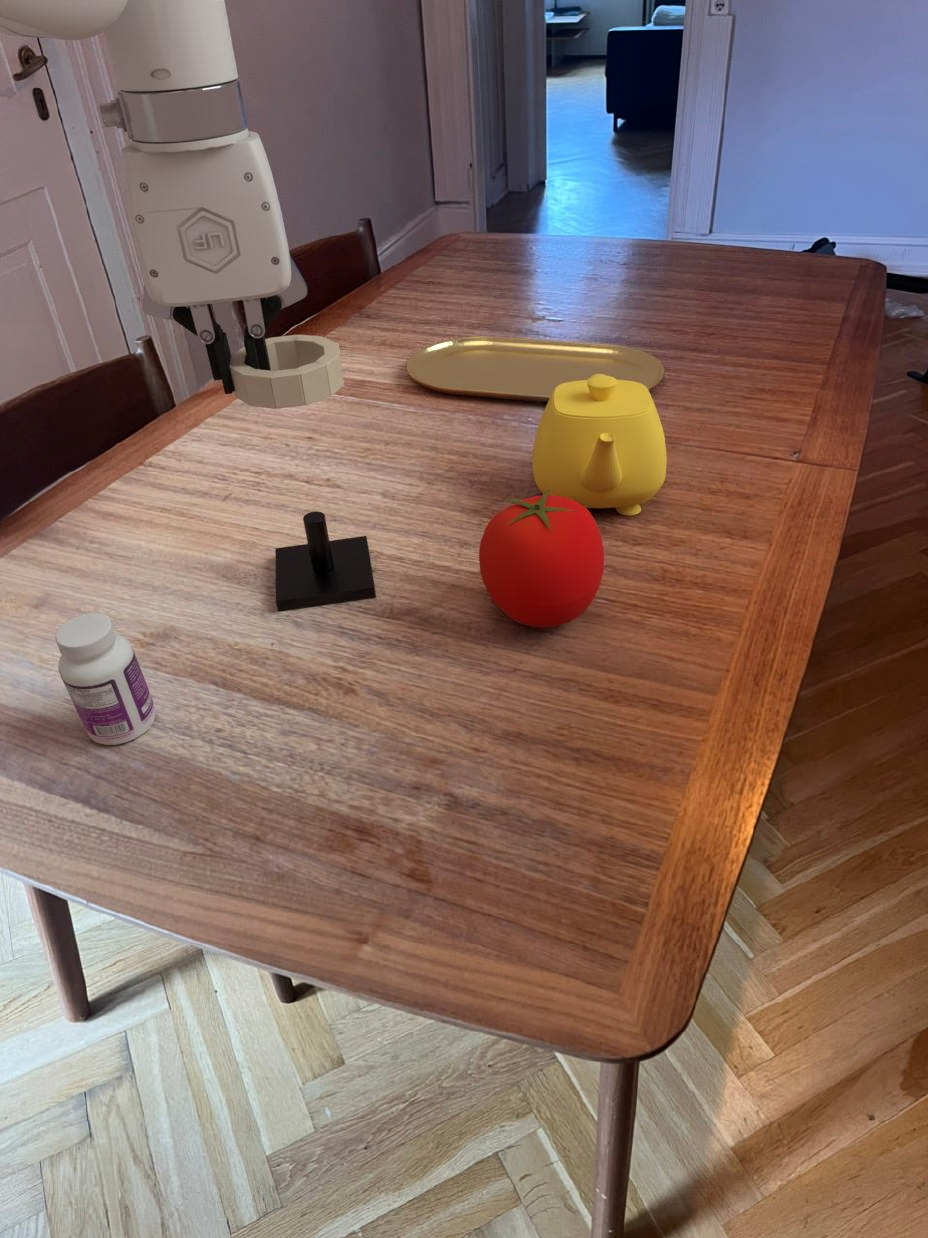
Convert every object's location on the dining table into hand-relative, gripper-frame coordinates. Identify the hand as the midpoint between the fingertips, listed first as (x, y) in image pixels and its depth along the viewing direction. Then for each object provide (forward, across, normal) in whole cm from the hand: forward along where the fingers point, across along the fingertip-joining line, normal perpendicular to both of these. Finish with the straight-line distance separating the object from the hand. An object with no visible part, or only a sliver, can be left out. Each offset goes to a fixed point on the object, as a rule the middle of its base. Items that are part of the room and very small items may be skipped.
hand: (244, 383), depth 69 cm
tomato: (+21, +22, -7) cm, 31 cm away
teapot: (+21, +32, +10) cm, 40 cm away
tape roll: (+1, +3, 0) cm, 3 cm away
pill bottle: (+21, -14, -13) cm, 29 cm away
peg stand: (+21, +3, +3) cm, 22 cm away
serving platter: (+21, +33, +44) cm, 59 cm away
